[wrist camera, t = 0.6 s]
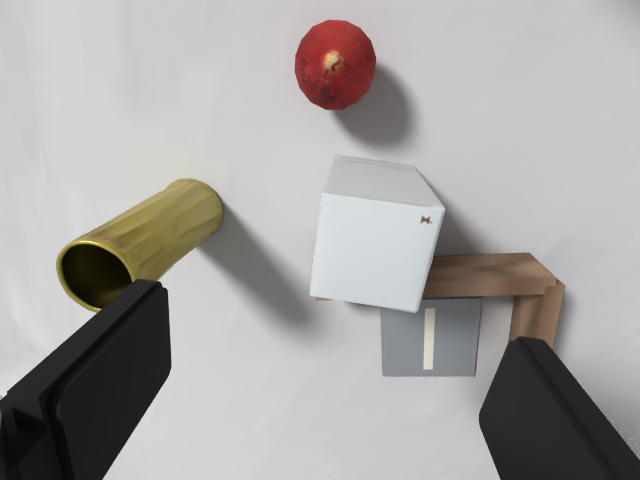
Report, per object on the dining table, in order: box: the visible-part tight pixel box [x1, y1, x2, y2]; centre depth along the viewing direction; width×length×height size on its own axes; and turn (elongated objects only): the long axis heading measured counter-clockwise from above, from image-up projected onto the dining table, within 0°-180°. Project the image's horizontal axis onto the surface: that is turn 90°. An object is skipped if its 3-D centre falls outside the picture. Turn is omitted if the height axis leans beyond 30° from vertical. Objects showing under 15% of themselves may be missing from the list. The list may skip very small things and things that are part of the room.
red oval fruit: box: [295, 20, 376, 110], centre depth 25 cm, size 6×6×8 cm
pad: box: [381, 297, 482, 376], centre depth 38 cm, size 10×10×1 cm
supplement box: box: [310, 155, 446, 313], centre depth 27 cm, size 7×7×13 cm
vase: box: [56, 179, 222, 313], centre depth 28 cm, size 6×6×14 cm
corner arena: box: [316, 253, 565, 349], centre depth 36 cm, size 21×21×5 cm
